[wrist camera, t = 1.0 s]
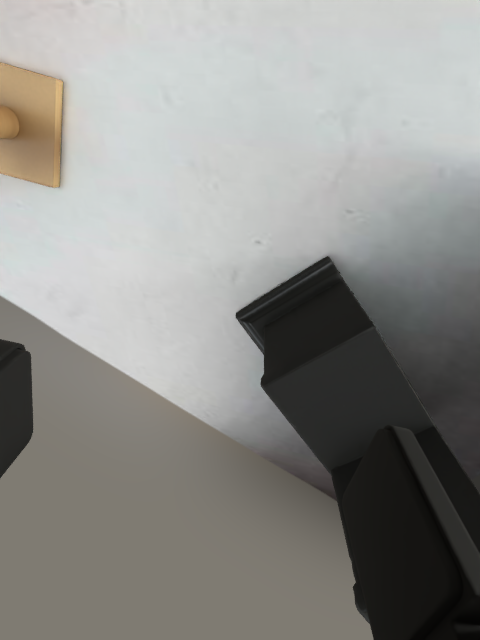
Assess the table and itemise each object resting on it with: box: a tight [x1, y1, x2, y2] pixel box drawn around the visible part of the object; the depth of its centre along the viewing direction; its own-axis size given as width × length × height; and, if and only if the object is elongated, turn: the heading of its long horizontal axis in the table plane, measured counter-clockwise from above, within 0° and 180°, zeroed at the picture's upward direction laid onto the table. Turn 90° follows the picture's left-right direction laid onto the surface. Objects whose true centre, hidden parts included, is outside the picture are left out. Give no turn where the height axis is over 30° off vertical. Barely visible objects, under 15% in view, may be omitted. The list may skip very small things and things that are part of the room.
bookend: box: [236, 256, 480, 624], centre depth 27 cm, size 23×11×24 cm, turn 35°
